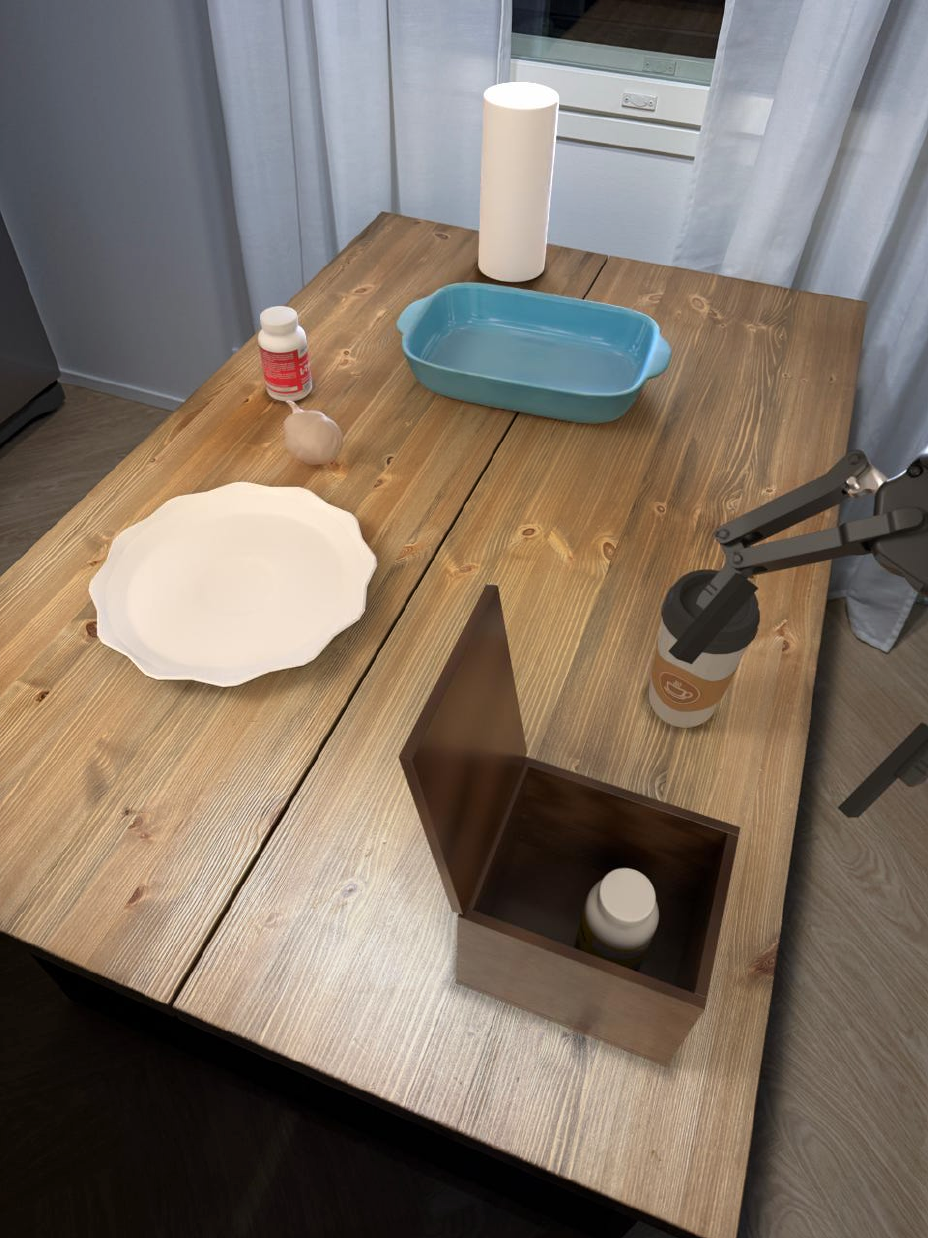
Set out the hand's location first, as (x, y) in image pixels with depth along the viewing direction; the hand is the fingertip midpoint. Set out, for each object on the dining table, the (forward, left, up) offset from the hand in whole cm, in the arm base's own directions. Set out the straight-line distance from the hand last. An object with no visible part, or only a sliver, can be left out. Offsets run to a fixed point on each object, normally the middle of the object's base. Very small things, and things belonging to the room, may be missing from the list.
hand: (757, 730), depth 54 cm
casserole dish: (+59, -48, -26) cm, 80 cm away
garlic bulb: (+66, -16, -26) cm, 72 cm away
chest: (+4, +8, -26) cm, 27 cm away
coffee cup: (+12, -17, -26) cm, 33 cm away
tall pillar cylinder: (+82, -70, -26) cm, 111 cm away
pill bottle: (+80, -23, -26) cm, 87 cm away
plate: (+55, +4, -26) cm, 61 cm away
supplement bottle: (+2, +7, -25) cm, 26 cm away
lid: (+12, +11, -4) cm, 17 cm away
